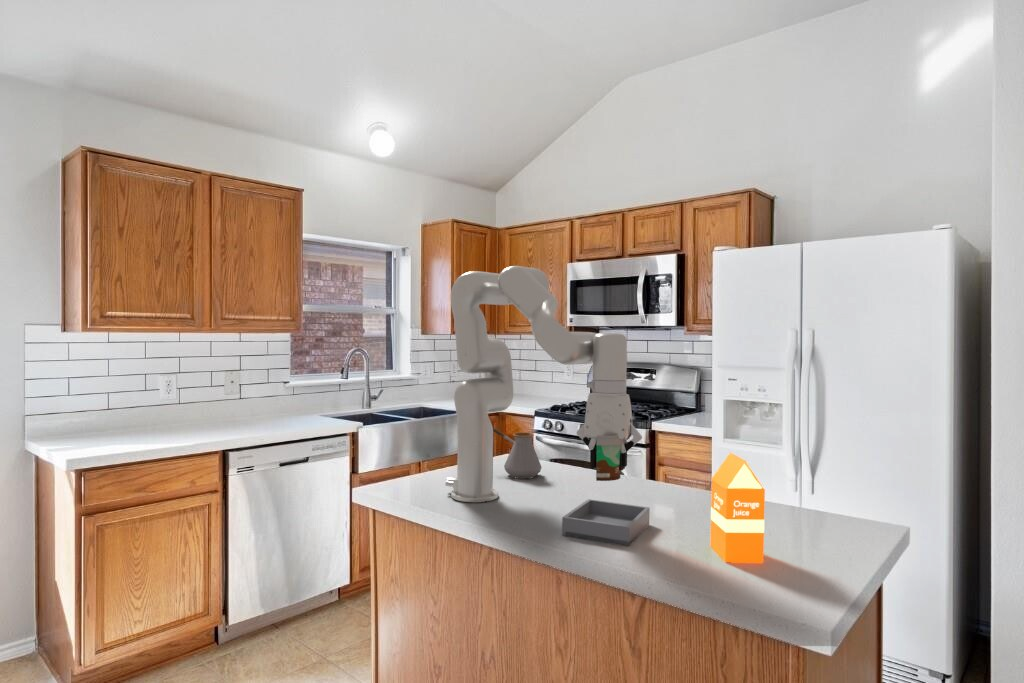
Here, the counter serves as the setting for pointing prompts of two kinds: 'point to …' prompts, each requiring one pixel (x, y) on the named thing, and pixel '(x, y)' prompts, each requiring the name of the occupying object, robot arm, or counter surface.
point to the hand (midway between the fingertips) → (608, 467)
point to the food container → (608, 457)
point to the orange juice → (737, 513)
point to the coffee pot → (521, 456)
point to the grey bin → (606, 522)
